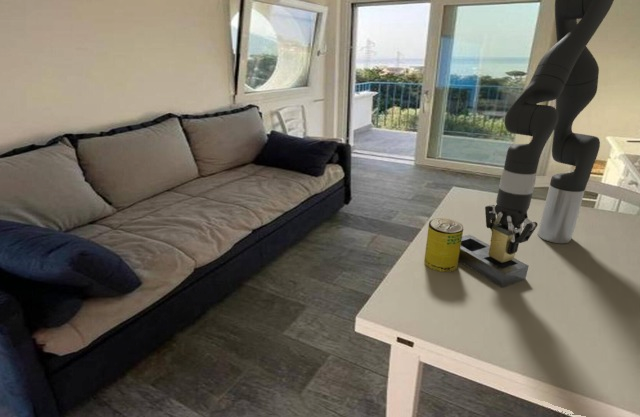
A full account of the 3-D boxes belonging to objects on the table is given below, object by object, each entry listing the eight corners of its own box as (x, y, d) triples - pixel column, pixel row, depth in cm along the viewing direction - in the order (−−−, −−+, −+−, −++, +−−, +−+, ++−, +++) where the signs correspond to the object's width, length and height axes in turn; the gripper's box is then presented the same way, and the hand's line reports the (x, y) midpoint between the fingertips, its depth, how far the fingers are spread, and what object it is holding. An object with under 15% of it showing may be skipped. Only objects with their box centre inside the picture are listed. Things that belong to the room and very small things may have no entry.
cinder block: (467, 246, 116) (469, 234, 115) (525, 278, 100) (528, 265, 98) (445, 252, 113) (446, 240, 111) (501, 287, 96) (504, 274, 94)
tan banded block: (499, 251, 103) (506, 221, 99) (514, 258, 99) (521, 228, 95) (487, 254, 101) (493, 224, 97) (502, 263, 97) (509, 231, 94)
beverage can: (460, 260, 108) (466, 222, 104) (453, 275, 101) (459, 235, 97) (429, 252, 113) (433, 215, 108) (420, 266, 106) (424, 227, 101)
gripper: (553, 194, 88) (537, 258, 95) (502, 177, 100) (490, 235, 106) (532, 199, 85) (516, 265, 92) (481, 181, 97) (471, 240, 103)
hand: (502, 249), depth 99 cm, fingers closed on tan banded block, 4 cm apart
